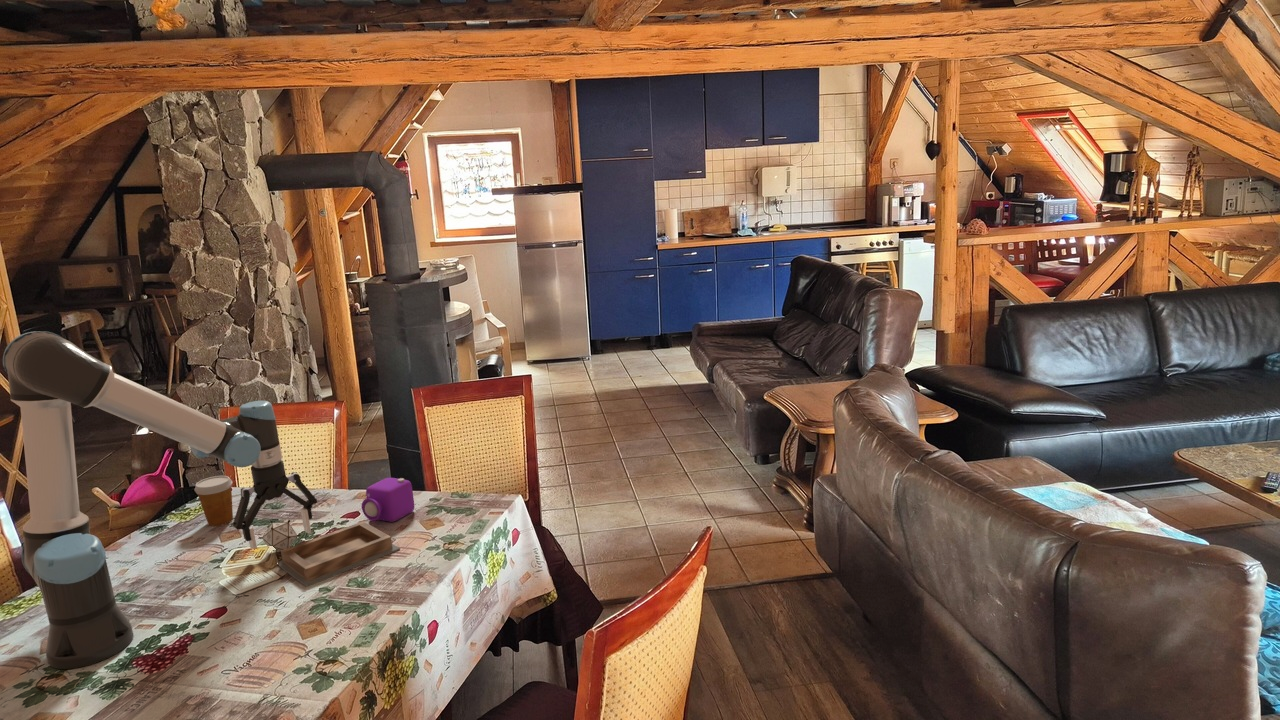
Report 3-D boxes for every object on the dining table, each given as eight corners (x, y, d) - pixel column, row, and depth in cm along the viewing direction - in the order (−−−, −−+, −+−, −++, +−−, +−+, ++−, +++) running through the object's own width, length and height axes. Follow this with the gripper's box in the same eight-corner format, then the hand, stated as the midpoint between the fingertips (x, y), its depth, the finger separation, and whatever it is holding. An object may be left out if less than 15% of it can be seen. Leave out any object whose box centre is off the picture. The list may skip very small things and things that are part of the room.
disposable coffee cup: (202, 519, 239) (194, 479, 236) (239, 511, 242) (231, 472, 240) (201, 531, 230) (192, 490, 227) (239, 523, 234) (231, 483, 231)
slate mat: (305, 586, 195) (305, 585, 195) (275, 563, 208) (275, 562, 208) (400, 549, 211) (399, 548, 211) (366, 530, 224) (366, 529, 224)
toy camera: (357, 527, 227) (351, 492, 224) (386, 506, 239) (381, 473, 237) (392, 529, 223) (387, 494, 221) (419, 508, 236) (415, 475, 234)
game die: (292, 561, 217) (312, 527, 218) (274, 565, 209) (295, 529, 209) (264, 543, 219) (284, 509, 219) (246, 546, 210) (266, 511, 211)
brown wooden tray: (308, 582, 197) (305, 569, 196) (283, 563, 208) (280, 550, 207) (392, 549, 211) (390, 536, 210) (365, 533, 222) (363, 521, 221)
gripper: (219, 482, 198) (236, 564, 203) (321, 451, 215) (335, 528, 220) (208, 474, 204) (225, 555, 209) (309, 445, 220) (322, 520, 225)
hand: (281, 541), depth 214 cm, fingers open, 13 cm apart
